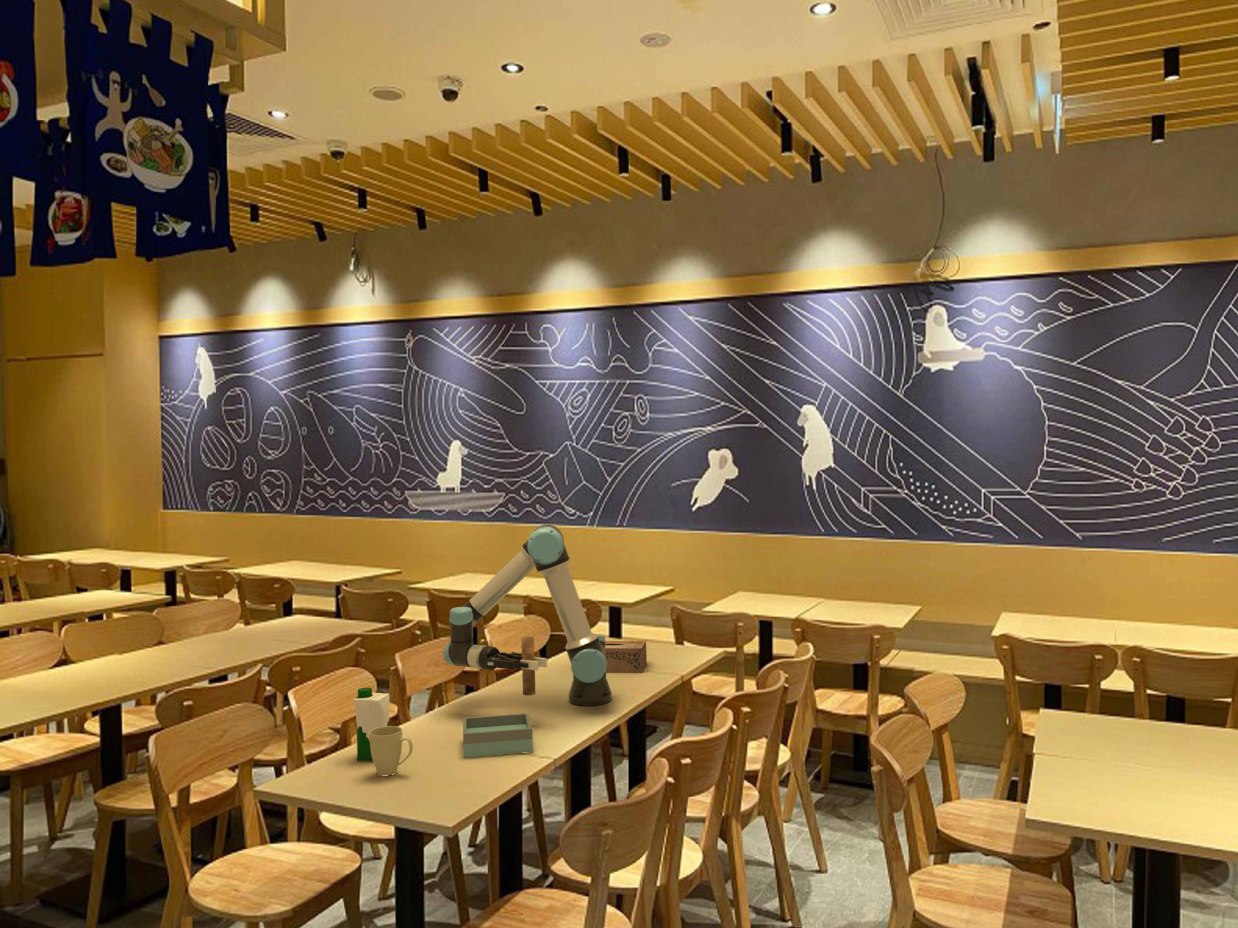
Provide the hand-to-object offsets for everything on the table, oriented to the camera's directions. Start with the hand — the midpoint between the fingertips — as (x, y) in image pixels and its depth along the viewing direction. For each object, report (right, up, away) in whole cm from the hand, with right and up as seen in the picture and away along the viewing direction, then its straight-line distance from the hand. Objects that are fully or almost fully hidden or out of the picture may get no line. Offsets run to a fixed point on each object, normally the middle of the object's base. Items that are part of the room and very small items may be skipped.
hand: (542, 664), depth 304 cm
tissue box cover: (+22, -19, +79) cm, 84 cm away
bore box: (-12, -21, -16) cm, 29 cm away
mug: (-39, -23, -38) cm, 59 cm away
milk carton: (-47, -23, -23) cm, 57 cm away
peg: (-4, -10, +3) cm, 11 cm away
